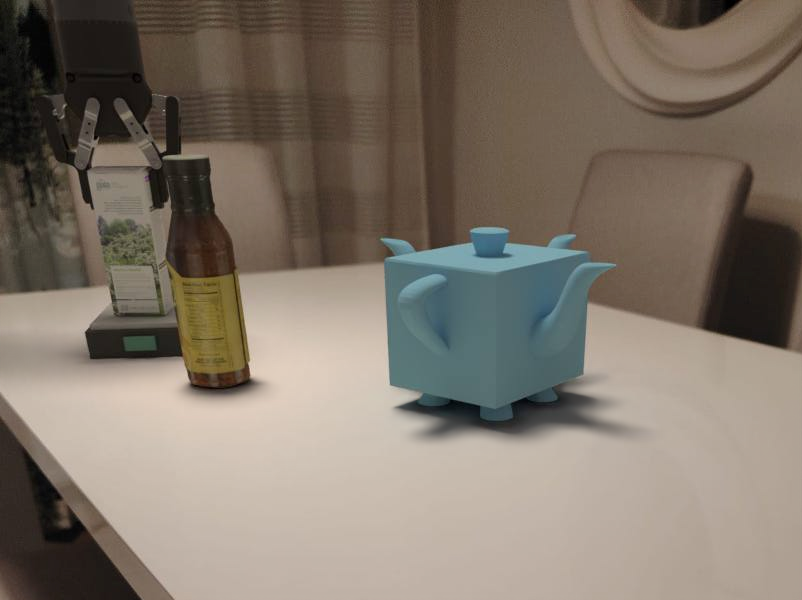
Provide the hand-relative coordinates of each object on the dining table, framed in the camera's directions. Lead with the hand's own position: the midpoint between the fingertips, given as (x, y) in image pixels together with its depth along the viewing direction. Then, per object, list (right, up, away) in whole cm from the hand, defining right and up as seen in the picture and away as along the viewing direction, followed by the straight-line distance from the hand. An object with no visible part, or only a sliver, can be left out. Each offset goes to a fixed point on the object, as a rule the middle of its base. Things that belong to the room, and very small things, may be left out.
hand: (128, 208), depth 99 cm
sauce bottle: (+12, -21, -7) cm, 25 cm away
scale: (0, -12, +7) cm, 14 cm away
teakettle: (+39, -23, -11) cm, 47 cm away
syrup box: (0, -9, +5) cm, 11 cm away
